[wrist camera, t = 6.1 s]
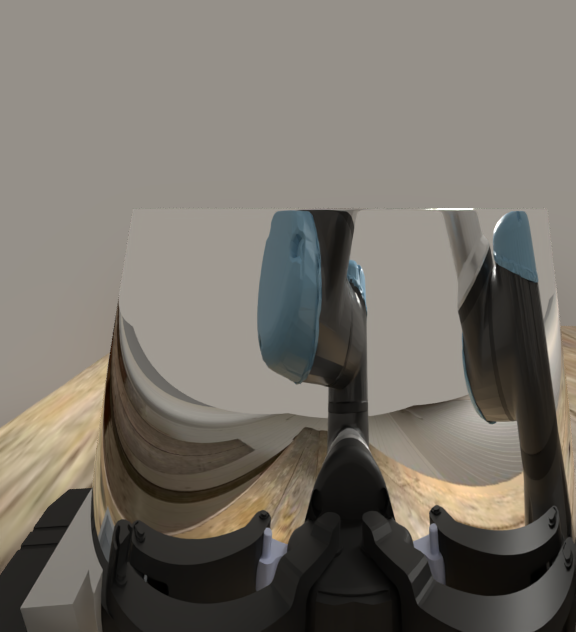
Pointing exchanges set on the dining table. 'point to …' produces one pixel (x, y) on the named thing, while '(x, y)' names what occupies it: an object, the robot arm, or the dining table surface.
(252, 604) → the wineglass
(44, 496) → the dining table surface
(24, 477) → the dining table surface
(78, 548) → the robot arm
